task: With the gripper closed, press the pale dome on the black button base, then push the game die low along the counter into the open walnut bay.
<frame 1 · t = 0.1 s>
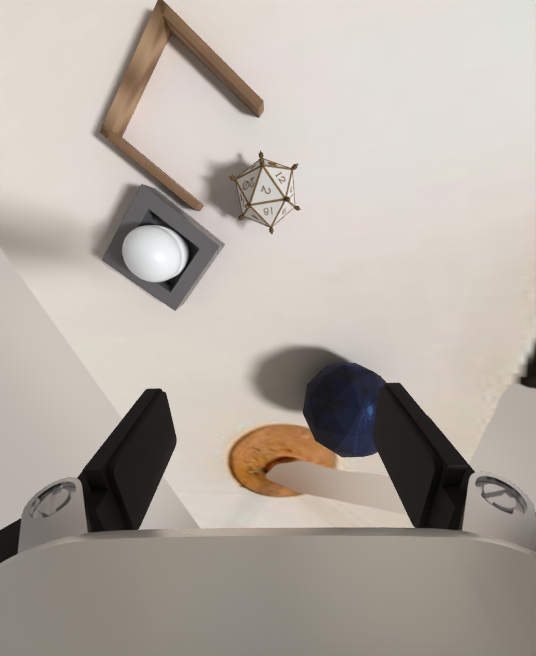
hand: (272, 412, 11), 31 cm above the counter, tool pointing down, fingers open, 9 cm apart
walnut bay: (189, 127, 33), on the counter
decorative orb: (337, 382, 47), on the counter
game die: (266, 197, 36), on the counter
dome: (153, 254, 33), point 6 cm above the counter, slide at 0.0 cm
dome base: (170, 250, 38), on the counter
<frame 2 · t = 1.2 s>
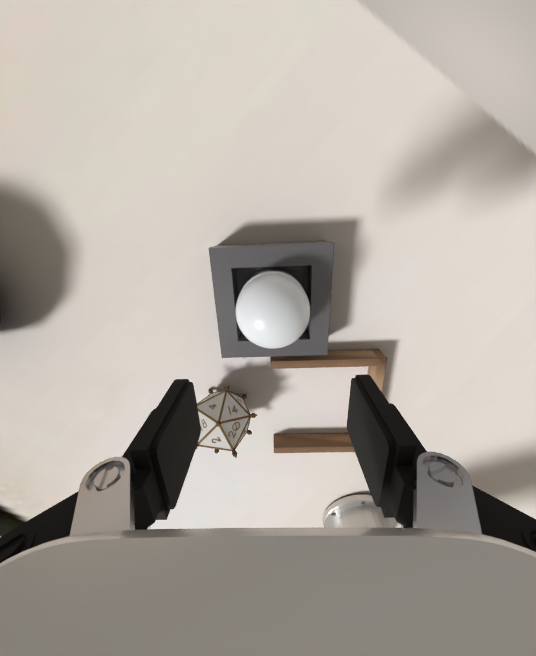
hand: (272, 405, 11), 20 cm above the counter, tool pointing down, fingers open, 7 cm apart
walnut bay: (318, 398, 35), on the counter
game die: (227, 399, 36), on the counter
dome: (272, 311, 24), point 6 cm above the counter, slide at 0.0 cm
dome base: (272, 296, 30), on the counter
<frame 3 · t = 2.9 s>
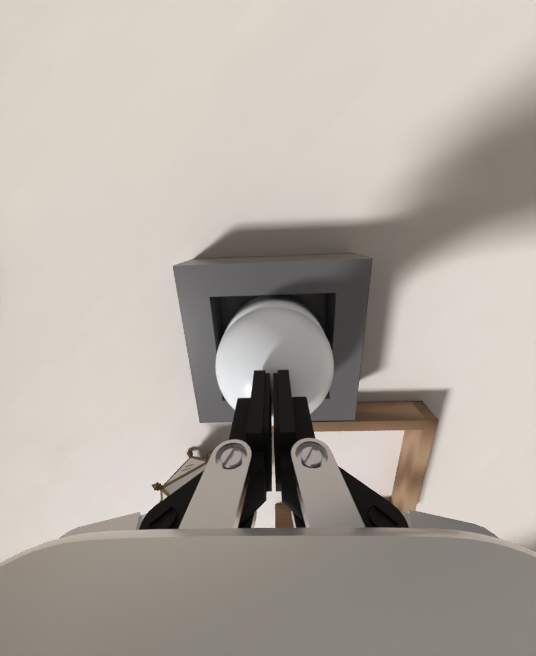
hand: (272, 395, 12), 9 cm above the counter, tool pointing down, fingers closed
walnut bay: (335, 461, 26), on the counter
game die: (213, 461, 27), on the counter
dome: (274, 364, 16), point 6 cm above the counter, slide at 0.3 cm, touching gripper
dome base: (274, 330, 21), on the counter
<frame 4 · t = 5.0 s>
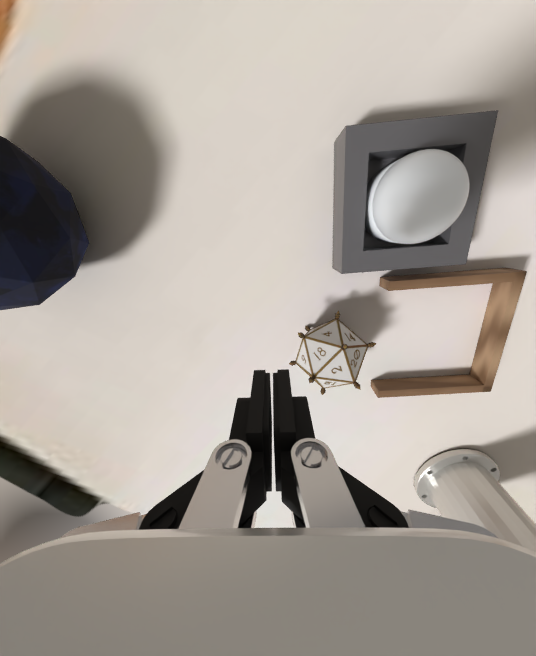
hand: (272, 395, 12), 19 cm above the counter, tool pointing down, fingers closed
walnut bay: (427, 333, 31), on the counter
decorative orb: (50, 225, 28), on the counter
game die: (323, 339, 32), on the counter
dome: (416, 200, 22), point 5 cm above the counter, slide at 1.2 cm
dome base: (391, 205, 26), on the counter
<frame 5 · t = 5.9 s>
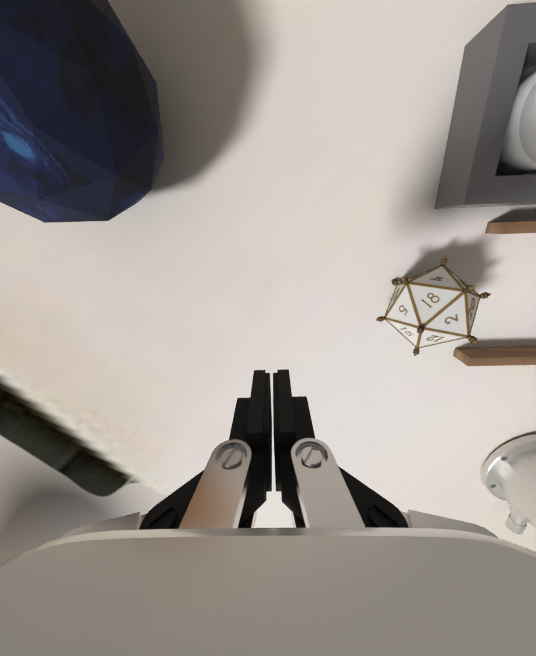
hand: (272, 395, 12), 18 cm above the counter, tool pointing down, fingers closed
walnut bay: (529, 293, 27), on the counter
decorative orb: (112, 141, 23), on the counter
game die: (408, 297, 28), on the counter
dome base: (517, 131, 22), on the counter
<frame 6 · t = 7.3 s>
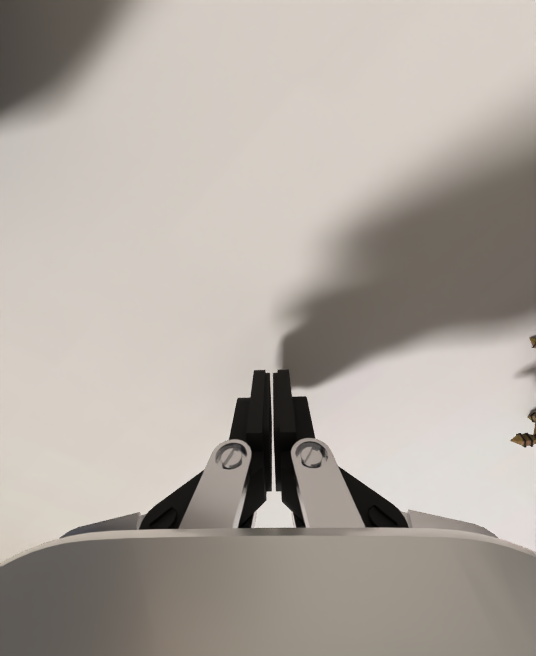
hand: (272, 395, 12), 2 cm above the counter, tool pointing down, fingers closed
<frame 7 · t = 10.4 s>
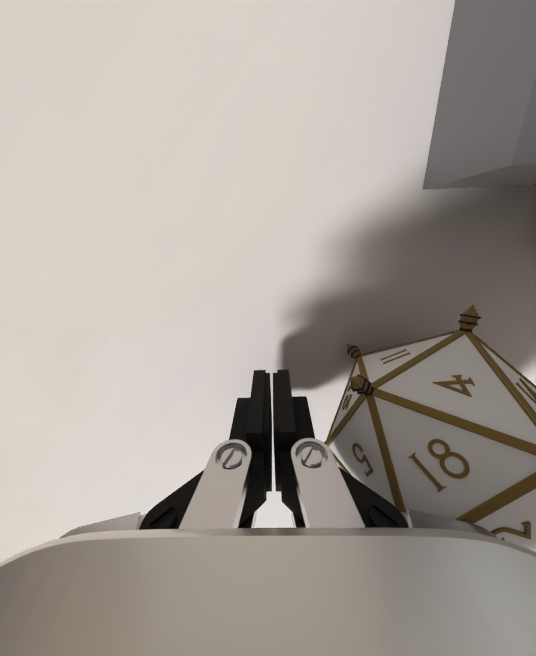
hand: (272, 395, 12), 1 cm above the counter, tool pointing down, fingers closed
game die: (385, 375, 13), on the counter, touching gripper
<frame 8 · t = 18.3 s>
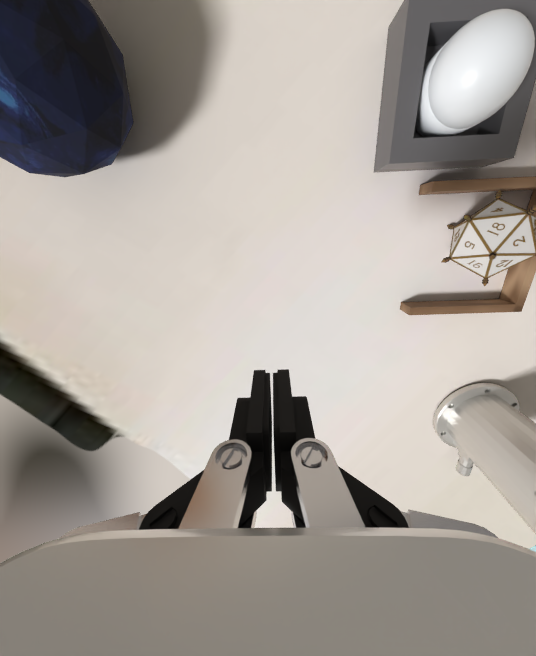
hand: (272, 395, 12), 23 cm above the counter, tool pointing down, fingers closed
walnut bay: (461, 250, 31), on the counter
decorative orb: (90, 111, 27), on the counter
game die: (464, 238, 31), on the counter
dome: (473, 76, 21), point 5 cm above the counter, slide at 1.2 cm
dome base: (438, 102, 26), on the counter
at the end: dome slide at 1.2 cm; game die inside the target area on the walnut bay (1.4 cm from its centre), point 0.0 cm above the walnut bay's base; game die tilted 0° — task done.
